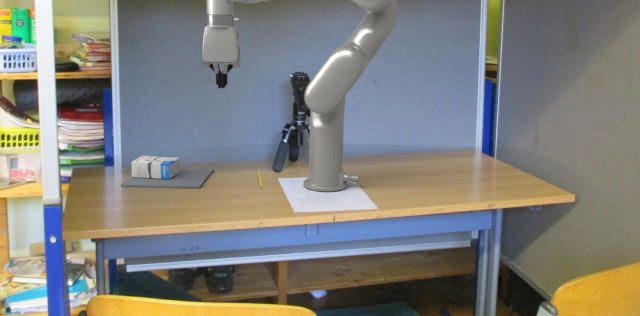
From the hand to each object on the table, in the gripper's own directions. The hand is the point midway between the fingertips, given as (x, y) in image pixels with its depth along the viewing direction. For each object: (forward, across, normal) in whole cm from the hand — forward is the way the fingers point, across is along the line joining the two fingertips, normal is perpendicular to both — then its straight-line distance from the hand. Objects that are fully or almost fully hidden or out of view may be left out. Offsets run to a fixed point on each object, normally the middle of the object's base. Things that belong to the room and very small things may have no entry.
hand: (221, 87), depth 185 cm
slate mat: (+27, +16, 0) cm, 31 cm away
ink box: (+24, +14, 0) cm, 28 cm away
